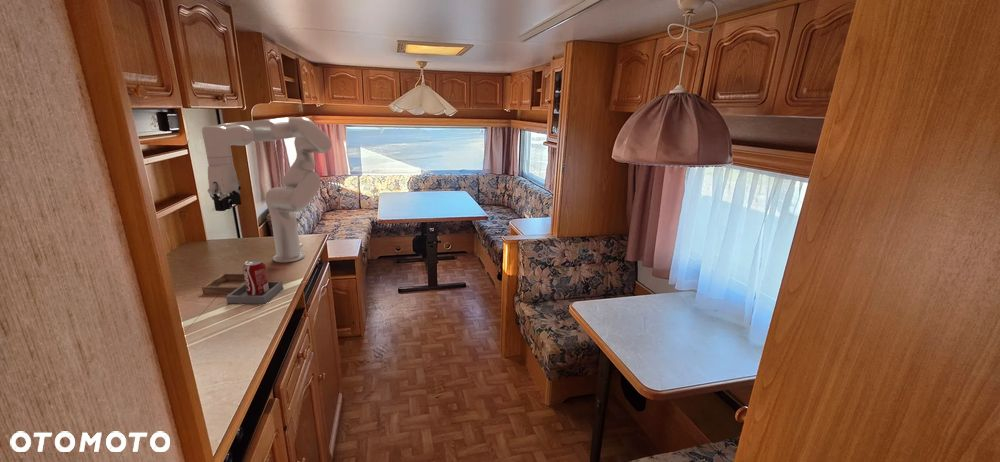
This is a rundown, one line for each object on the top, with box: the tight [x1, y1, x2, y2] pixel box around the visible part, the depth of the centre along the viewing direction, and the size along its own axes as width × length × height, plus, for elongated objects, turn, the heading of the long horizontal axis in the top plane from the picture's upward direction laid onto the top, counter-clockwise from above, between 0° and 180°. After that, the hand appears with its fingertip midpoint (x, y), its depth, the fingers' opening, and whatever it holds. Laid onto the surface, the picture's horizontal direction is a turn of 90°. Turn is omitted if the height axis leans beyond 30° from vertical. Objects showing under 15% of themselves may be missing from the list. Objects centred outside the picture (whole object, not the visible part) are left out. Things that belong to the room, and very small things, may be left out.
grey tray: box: [225, 280, 284, 306], centre depth 143 cm, size 13×13×3 cm
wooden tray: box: [201, 272, 245, 295], centre depth 150 cm, size 13×13×2 cm
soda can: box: [242, 258, 269, 296], centre depth 142 cm, size 7×7×12 cm
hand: (229, 207), depth 150 cm, fingers open, 9 cm apart
